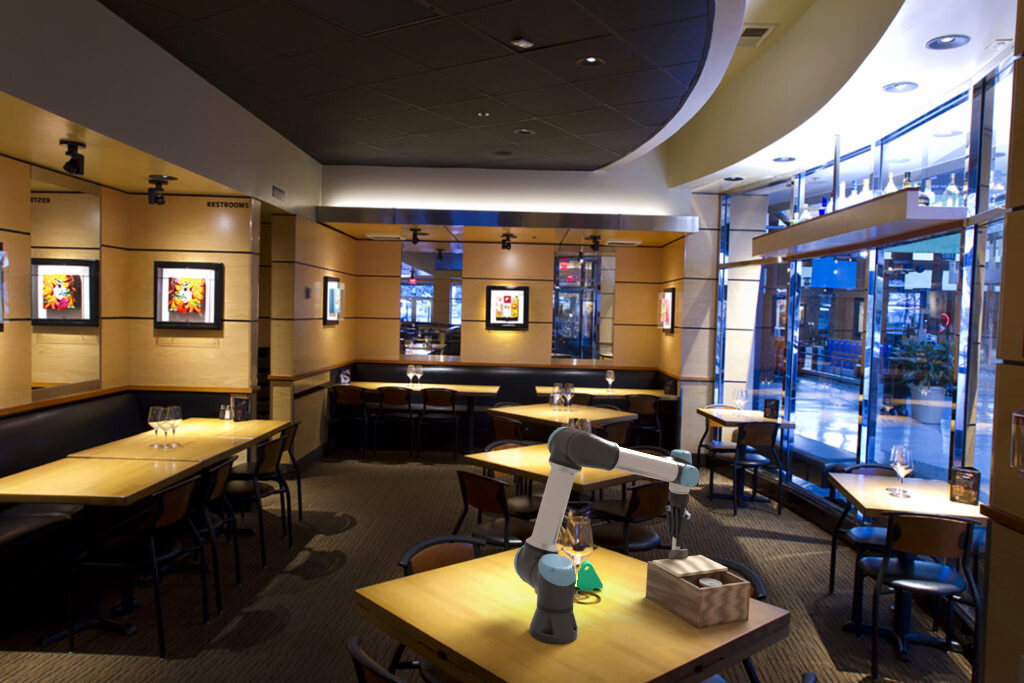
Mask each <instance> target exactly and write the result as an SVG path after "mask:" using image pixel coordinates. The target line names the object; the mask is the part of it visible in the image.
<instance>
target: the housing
mask: <svg viewBox="0 0 1024 683" xmlns="http://www.w3.org/2000/svg"><path fill="white" fill-rule="evenodd" d="M646 566H647V567H646V582H645V583H646V586H645V597H646V598H647V597H648V599H649V600H651V601H653V602H654V603H655V602H656V604H657V605H658V606H660V607H662V608H664V609H665V610H667V611H668V612H670V613H671V614H673V615H674V616H677V617H678V618H679V619H681V620H682V621H684V622H686V623H687V624H689V625H691V626H692V627H694V628H695V629H697V630H698V629H699V630H700V629H704V628H710V627H714V626H715V627H716V626H722V625H726V624H733V623H737V622H744V621H749V619H750V618H749V616H750V597H751V581H748V580H746V579H744V578H742V577H741V576H738V575H736V574H734V573H732V572H729V571H728V570H727V571H720V572H713V573H705V574H698V575H690V576H682V577H677V576H675V575H673V574H671V573H670V572H668V571H666V570H664V569H662V568H660V567H658V566H657V565H655V564H653V561H651V560H650V561H649V560H648V561H647V565H646ZM702 578H711V579H715V580H718V581H720V582H721V583H722V585H718V586H711V587H704V588H699V580H700V579H702ZM743 620H744V621H743Z"/></svg>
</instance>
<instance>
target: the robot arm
mask: <svg viewBox="0 0 1024 683" xmlns="http://www.w3.org/2000/svg"><path fill="white" fill-rule="evenodd" d="M547 449H548V452H549V454H550V455H549V458H548V463H549V466H550V470H549V475H548V478H547V481H546V484H545V488H544V492H543V495H542V498H541V502H540V505H539V510H538V513H537V517H536V520H535V524H534V526H533V531H532V534H531V536H529V537H528V538H526V540H525V542H524V545H522V546H521V548H519V549H518V550H517V551H516V552H515V556H514V558H513V559H514V560H513V566H514V570H515V572H516V574H517V576H518V577H519V578H520V579H521V581H523V582H525V583H526V584H527V585H529V586H530V587H531V588H532V589H534V590H535V591H537V593H536V594H537V595H536V608H535V610H534V614H533V616H532V618H531V621H530V623H529V624H530V625H529V634H530V635H531V636H532V637H533V639H536V640H537V641H540V642H543V643H546V644H551V645H552V644H554V645H563V644H568V643H571V642H573V641H575V640H576V639H577V637H578V630H579V629H578V628H579V627H578V624H577V620H576V616H575V613H574V603H575V602H574V601H575V588H574V586H575V578H576V566H575V563H574V562H573V561H572V560H571V559H570V558H568V557H567V556H564V555H560V554H559V551H560V550H559V547H558V546H557V542H558V538H559V533H560V530H561V527H562V524H563V519H564V517H565V513H566V510H567V506H568V503H569V499H570V496H571V495H570V494H571V491H572V489H573V485H574V481H575V477H576V475H577V474H580V473H581V472H582V469H583V468H589V469H597V470H603V471H608V472H610V471H613V470H617V471H622V472H625V473H629V474H633V475H638V476H643V477H645V478H652V479H656V480H660V481H664V482H668V483H669V485H668V490H669V492H668V502H669V505H667V506H666V505H665V506H664V509H665V510H664V511H665V514H666V522H667V525H666V526H667V532H668V534H670V536H671V550H680V549H681V547H682V539H683V538H686V537H687V533H688V530H689V525H690V520H691V519H692V518H693V514H692V513H689V511H688V510H689V509H688V504H689V503H690V495H691V494H690V489H691V488H694V487H695V486H697V485H698V484H699V481H700V476H701V475H700V472H699V469H698V468H697V466H696V467H695V466H694V465H692V464H693V462H692V460H693V459H692V453H691V452H690V451H689V450H686V449H673V450H671V452H670V455H669V456H657V455H652V454H649V453H644V452H641V451H637V450H634V449H630V448H625V447H621V446H619V445H618V443H617V442H614V441H610V440H608V439H605V438H603V437H601V436H598V435H596V434H595V433H592V432H589V431H584V430H581V429H578V428H575V427H571V426H561V427H558V428H556V429H555V430H553V432H552V433H551V434H550V435H549V438H548V440H547Z"/></svg>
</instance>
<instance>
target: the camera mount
mask: <svg viewBox="0 0 1024 683" xmlns="http://www.w3.org/2000/svg"><path fill="white" fill-rule="evenodd" d="M577 572H578V580H577V589H579V590H580V591H588V592H590V591H591V592H592V591H594V589H603V586H604V585H603V582H602V581H601V579H600V577H599V575H598V573H597V572H596V570H595V568H594V566H593V564H592V563H591V561H589V560H583V561H581V564H580V567H579V569H578V570H577ZM575 584H576V578H575ZM574 587H575V586H574Z"/></svg>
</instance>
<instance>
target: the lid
mask: <svg viewBox="0 0 1024 683" xmlns="http://www.w3.org/2000/svg"><path fill="white" fill-rule="evenodd" d="M652 562H653V564H655V565H657V566H658V567H660V568H662V569H664V570H666V571H668V572H670V573H671V574H673V575H675V576H677V577H682V576H690V575H698V574H705V573H713V572H720V571H728V567H727V566H725V565H722V564H721V563H718V562H716V561H714V560H712V559H710V558H708V557H706V556H704V555H701V554H698V555H689V549H687V548H683V549H681V548H680V550H672V549H671V550H668V558H664V559H655V560H652Z"/></svg>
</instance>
